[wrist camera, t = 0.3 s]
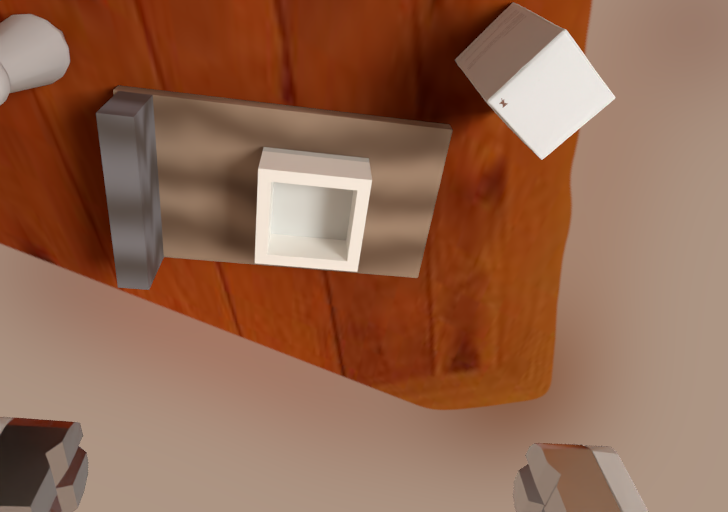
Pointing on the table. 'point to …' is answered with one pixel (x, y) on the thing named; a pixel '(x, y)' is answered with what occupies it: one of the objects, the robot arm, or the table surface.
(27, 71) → the salt shaker
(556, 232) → the table surface
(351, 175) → the frame
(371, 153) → the board
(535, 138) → the supplement box
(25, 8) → the table surface
